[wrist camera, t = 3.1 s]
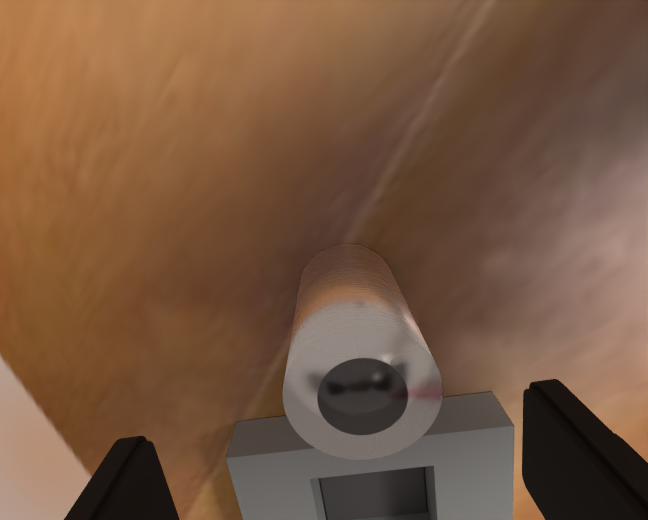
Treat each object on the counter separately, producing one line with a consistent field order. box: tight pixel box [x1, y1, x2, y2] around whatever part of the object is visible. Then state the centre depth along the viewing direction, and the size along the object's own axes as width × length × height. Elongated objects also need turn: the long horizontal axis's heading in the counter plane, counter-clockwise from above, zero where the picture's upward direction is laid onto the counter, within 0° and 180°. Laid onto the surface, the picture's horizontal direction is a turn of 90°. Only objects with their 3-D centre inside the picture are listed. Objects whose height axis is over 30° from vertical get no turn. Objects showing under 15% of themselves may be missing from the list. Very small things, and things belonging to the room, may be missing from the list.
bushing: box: [283, 244, 443, 460], centre depth 15 cm, size 5×5×8 cm
